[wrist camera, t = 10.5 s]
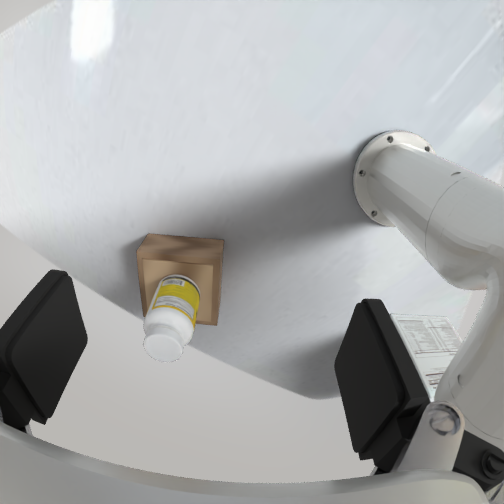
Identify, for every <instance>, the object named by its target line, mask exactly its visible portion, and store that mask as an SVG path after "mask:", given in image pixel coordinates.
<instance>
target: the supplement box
mask: <svg viewBox="0 0 504 504" xmlns="http://www.w3.org/2000/svg"><path fill="white" fill-rule="evenodd" d="M390 317H391V319H392V321H393V323H394V325H395V327H396V329H397V331H398V333H399V334H400V336H401V338H402V340H403V342H404V344H405V347H406V349H407V351H408V353H409V355H410V357H411V359H412V361H413V363H414V365H415V367H416V369H417V372H418V374H419V376H420V378H421V380H422V382H423V385H424V387H425V389H426V391H427V394H428V397H429V399H430V401H431V402H433V401H434V396H435V392H436V389H437V386H438V383H439V381H440V379H441V377H442V375H443V373H444V372H445V370H446V368H447V367H448V365H449V364H450V362H451V360H452V359H453V357H454V356H455V354H456V352H457V351H458V349H459V347H460V346H461V344H462V343H463V341H462V339H461V338H460V336H459V334H458V333H457V331H456V330H455V328H454V327H453V325H452V324H451V322H450V321H449V319H448V318H447V317H441V316H419V315H400V314H391V315H390Z"/></svg>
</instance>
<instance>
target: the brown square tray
mask: <svg viewBox="0 0 504 504" xmlns="http://www.w3.org/2000/svg"><path fill="white" fill-rule="evenodd" d="M223 246H224V240H218V239H206V238H195V237H183V236H171V235H159V234H148V235H147V236H146V238H145V239H144V241H143V242H142V244H141V245H140V247H139V248H138V250H137V251H136V253H137V265H138V275H139V284H140V293H141V301H142V309H143V316H144V317H145V316H146V314H147V311H148V309H149V306H150V304H151V301H152V299H153V296H154V294H155V291H156V289H157V286H158V284H159V283H160V281H161V280H162V279H163V278H165V277H167V276H169V275H183V276H186V277H188V278H190V279H191V280H192V281H194V282H195V284H196V285H197V286H198V288H199V291H200V302H199V307H198V312H197V317H196V322H195V324H205V325H215V326H217V322H218V315H219V307H220V295H221V278H222V261H223Z"/></svg>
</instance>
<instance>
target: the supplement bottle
mask: <svg viewBox="0 0 504 504" xmlns="http://www.w3.org/2000/svg"><path fill="white" fill-rule="evenodd" d="M199 302H200V291H199V288H198V286H197V285H196V284H195V282H194V281H192V280H191V279H190V278H188V277H186V276H183V275H169V276H167V277H165V278H163V279H162V280H161V281H160V283H159V284H158V286H157V289H156V291H155V294H154V296H153V299H152V301H151V304H150V306H149V309H148V311H147V314H146V316H145V320H144V331H145V334H146V337H145V339H144V343H143V345H144V349H145V351H146V352H147V353H148V354H149V356H151V357H152V358H154V359H156V360H158V361H162V362H173V361H176V360H178V359H179V358H180V357H181V355H182V352H183V348H184V346H185V345H187V344H188V343H189V342H190V341H191V339H192V336H193V333H194V328H195V322H196V317H197V312H198V307H199Z"/></svg>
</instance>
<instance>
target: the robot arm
mask: <svg viewBox="0 0 504 504" xmlns="http://www.w3.org/2000/svg"><path fill="white" fill-rule="evenodd" d="M388 137H389V140H387V138H388ZM424 148H425V149H424ZM360 170H362V172H361V173H359V172H360ZM353 186H354V192H355V196H356V199H357V201H358V203H359V205H360V207H361V208H362V209H363V211H364V212H365V213H366V214H367V215H368V216H369V217H370V218H371V219H372V220H374V221H375V222H377V223H379V224H382V225H384V226H389V227H397V228H398V230H399V231H400V232H401V233H402V234H403V235H404V236H405V237H406V238H407V239H408V240H409V241H410V242H411V243H412V245H413V246H414V247H415V248H416V249H417V250H418V251H419V252H420V253H421V254H422V256H423V257H424V258H425V259H426V260H427V261H428V262H429V263H430V265H431V266H432V267H433V268H434V269H435V270H436V271H437V272H438V274H439V275H440V276H441V277H442V278H443V279H444V280H446V281H447V282H448V283H449V284H451V285H453V286H455V287H457V288H460V289H465V290H485V289H487V293H486V296H485V299H484V302H483V304H482V306H481V308H480V310H479V312H478V314H477V317H476V320H475V322H474V323H473V325H472V327H471V329H470V331H469V333H468V334H467V336H466V337H465V339H464V341H463V343H462V344H461V346H460V347H459V349H458V351H457V352H456V354H455V356H454V357H453V359H452V360H451V362H450V364H449V365H448V367H447V368H446V370H445V372H444V373H443V375H442V377H441V379H440V381H439V383H438V386H437V389H436V392H435V396H434V401H433V402H431V401H430V399H429V397H428V394H427V391H426V389H425V387H424V385H423V382H422V380H421V378H420V376H419V374H418V372H417V369H416V367H415V365H414V363H413V361H412V359H411V357H410V355H409V353H408V351H407V349H406V347H405V344H404V342H403V340H402V338H401V336H400V334H399V333H398V331H397V329H396V327H395V325H394V323H393V321H392V319H391V317H390V315H389V313H388V311H387V309H386V308H385V306H384V304H383V302H382V301H381V300H380V299H363V300H362V301H361V303H357V304H356V307H355V309H354V312H353V315H352V318H351V320H350V323H349V326H348V329H347V331H346V334H345V337H344V339H343V342H342V344H341V347H340V350H339V352H338V355H337V357H336V360H335V373H336V377H337V381H338V385H339V389H340V393H341V397H342V401H343V406H344V410H345V414H346V419H347V423H348V428H349V432H350V437H351V441H352V446H353V450H354V451H355V452H356V453H357V452H358V453H359V458H360V460H366V459H373V460H374V465H375V467H374V469H373V471H372V473H371V474H370V476H366V477H359V478H351V479H342V480H331V481H319V482H306V483H305V482H304V483H269V484H268V483H236V482H222V481H221V482H220V481H210V480H200V479H192V478H184V477H177V476H171V475H164V474H159V473H153V472H148V471H143V470H139V469H134V468H130V467H125V466H121V465H117V464H113V463H109V462H106V461H102V460H99V459H95V458H92V457H89V456H85V455H82V454H79V453H76V452H73V451H70V450H67V449H64V448H62V447H59V446H56V445H54V444H51V443H48V442H46V441H43V440H41V439H38V438H36V437H34V436H33V435H32V432H31V429H30V425H29V422H30V420H31V418H32V420H34V421H36V422H39V423H41V424H44V425H45V424H46V421H47V419H48V418H51V417H52V415H53V413H54V411H55V409H56V407H57V404H58V402H59V400H60V398H61V395H62V393H63V391H64V389H65V387H66V385H67V383H68V381H69V379H70V376H71V374H72V372H73V370H74V369H75V366H76V364H77V362H78V361H79V359H80V357H81V354H82V353H83V350H84V349H85V347H86V344H87V339H88V338H87V334H86V330H85V327H84V323H83V320H82V317H81V313H80V309H79V305H78V302H77V298H76V294H75V290H74V286H73V282H72V278H71V277H70V276H68V274H67V272H65V271H60V270H50V271H49V272H48V273H47V274H46V275H45V276H44V277H43V278H42V279H41V280H40V282H39V283H38V284H37V285H36V286H35V287H34V288H33V290H32V291H31V292H30V293H29V294H28V295H27V297H26V298H25V299H24V300H23V301H22V302H21V304H20V305H19V306H18V307H17V309H16V310H15V311H14V312H13V314H12V315H11V316H10V317H9V319H8V320H7V321H6V322H5V324H4V325H3V326H2V328H1V329H0V504H504V187H502V186H501V185H499V184H497V183H495V182H493V181H491V180H489V179H487V178H485V177H482V176H480V175H478V174H476V173H474V172H472V171H470V170H468V169H466V168H464V167H462V166H460V165H457V164H455V163H453V162H451V161H448V160H446V159H444V158H442V157H439V156H437V155H436V153H435V151H434V149H433V148H432V146H431V145H430V144H429V143H428V142H427V141H426V140H425V139H423V138H422V137H420V136H419V135H417V134H414V133H412V132H408V131H403V130H394V131H388V132H385V133H383V134H380V135H378V136H377V137H375V138H374V139H372V140H371V141H370V142H369V143H368V144H367V145H366V146H365V147H364V149H363V150H362V152H361V153H360V155H359V157H358V160H357V162H356V165H355V169H354V175H353ZM372 211H373V212H372Z"/></svg>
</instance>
